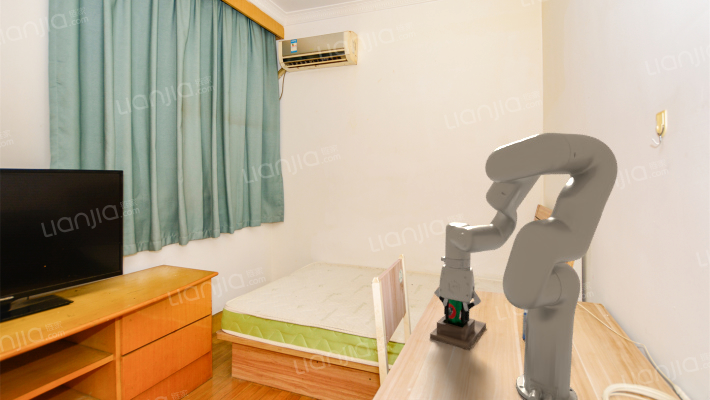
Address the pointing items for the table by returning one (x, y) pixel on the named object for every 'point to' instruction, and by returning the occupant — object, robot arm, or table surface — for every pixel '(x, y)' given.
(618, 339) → the table surface
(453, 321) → the soda can
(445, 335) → the can stand
